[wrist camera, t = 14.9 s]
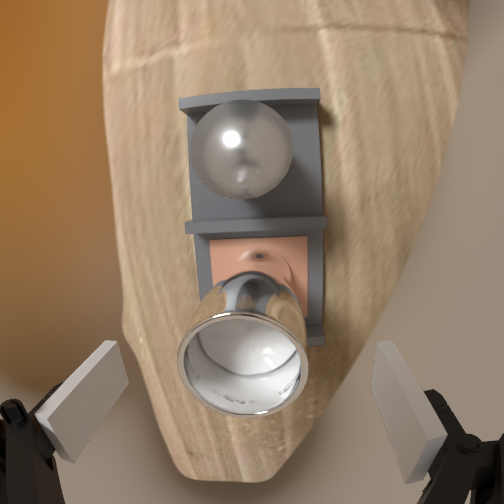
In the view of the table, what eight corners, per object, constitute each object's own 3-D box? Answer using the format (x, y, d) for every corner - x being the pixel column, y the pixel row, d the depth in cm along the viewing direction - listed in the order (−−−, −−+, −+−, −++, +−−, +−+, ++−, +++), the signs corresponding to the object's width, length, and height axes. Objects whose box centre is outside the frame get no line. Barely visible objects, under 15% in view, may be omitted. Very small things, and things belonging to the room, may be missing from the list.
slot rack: (189, 107, 26) (178, 98, 23) (314, 98, 25) (319, 88, 22) (206, 331, 31) (199, 346, 28) (320, 329, 30) (324, 345, 27)
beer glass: (208, 278, 29) (147, 363, 14) (259, 227, 27) (238, 277, 13) (259, 326, 30) (243, 437, 15) (311, 279, 28) (341, 372, 14)
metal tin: (207, 160, 27) (170, 149, 17) (255, 116, 25) (243, 80, 16) (252, 207, 27) (238, 221, 18) (301, 163, 26) (314, 151, 16)
